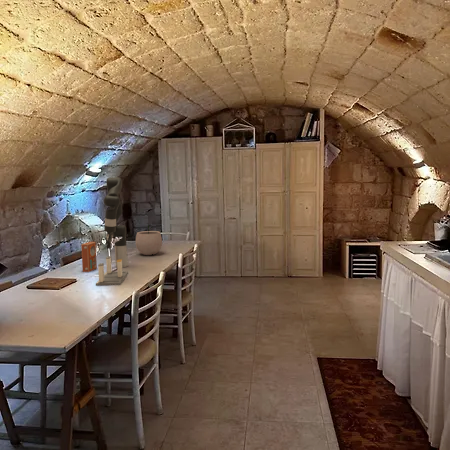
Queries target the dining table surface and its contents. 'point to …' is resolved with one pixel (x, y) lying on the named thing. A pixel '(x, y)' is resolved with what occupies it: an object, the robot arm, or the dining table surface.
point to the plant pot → (148, 242)
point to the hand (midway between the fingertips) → (108, 248)
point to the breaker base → (109, 275)
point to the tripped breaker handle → (119, 267)
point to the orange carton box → (89, 256)
